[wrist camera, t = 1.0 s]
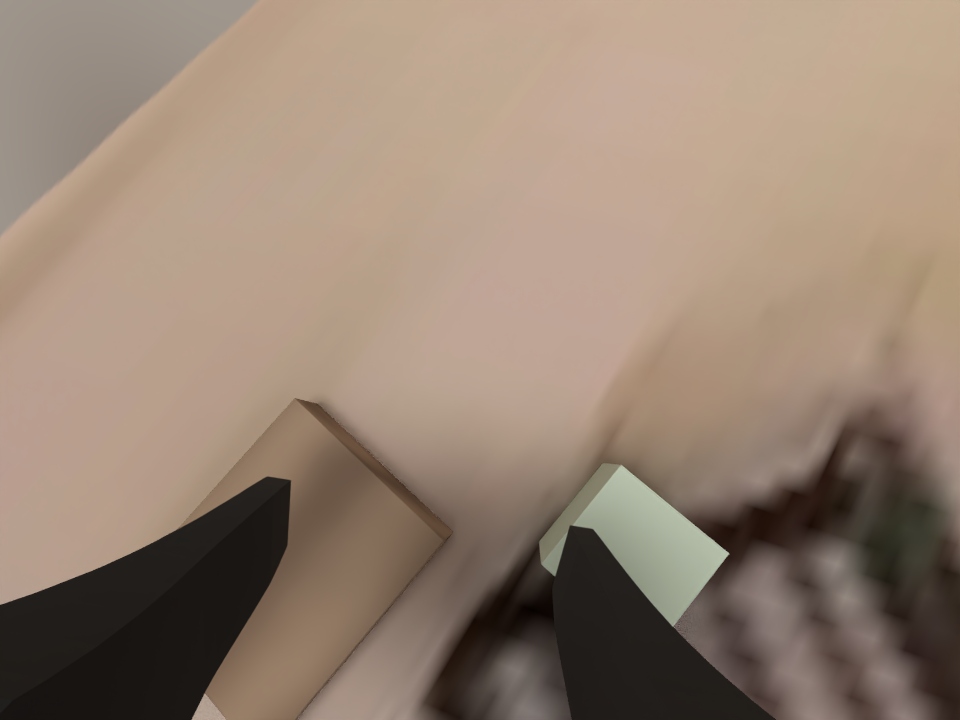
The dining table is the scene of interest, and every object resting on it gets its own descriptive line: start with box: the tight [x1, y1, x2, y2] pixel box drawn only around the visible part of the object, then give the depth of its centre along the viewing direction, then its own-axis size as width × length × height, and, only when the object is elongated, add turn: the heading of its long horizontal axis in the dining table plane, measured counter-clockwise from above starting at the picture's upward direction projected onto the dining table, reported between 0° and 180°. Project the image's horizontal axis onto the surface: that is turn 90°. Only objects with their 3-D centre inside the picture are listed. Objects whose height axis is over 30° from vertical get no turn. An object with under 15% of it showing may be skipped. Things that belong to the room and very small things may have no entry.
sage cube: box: [539, 463, 729, 626], centre depth 21 cm, size 5×5×5 cm
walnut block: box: [178, 398, 453, 720], centre depth 23 cm, size 10×12×3 cm
